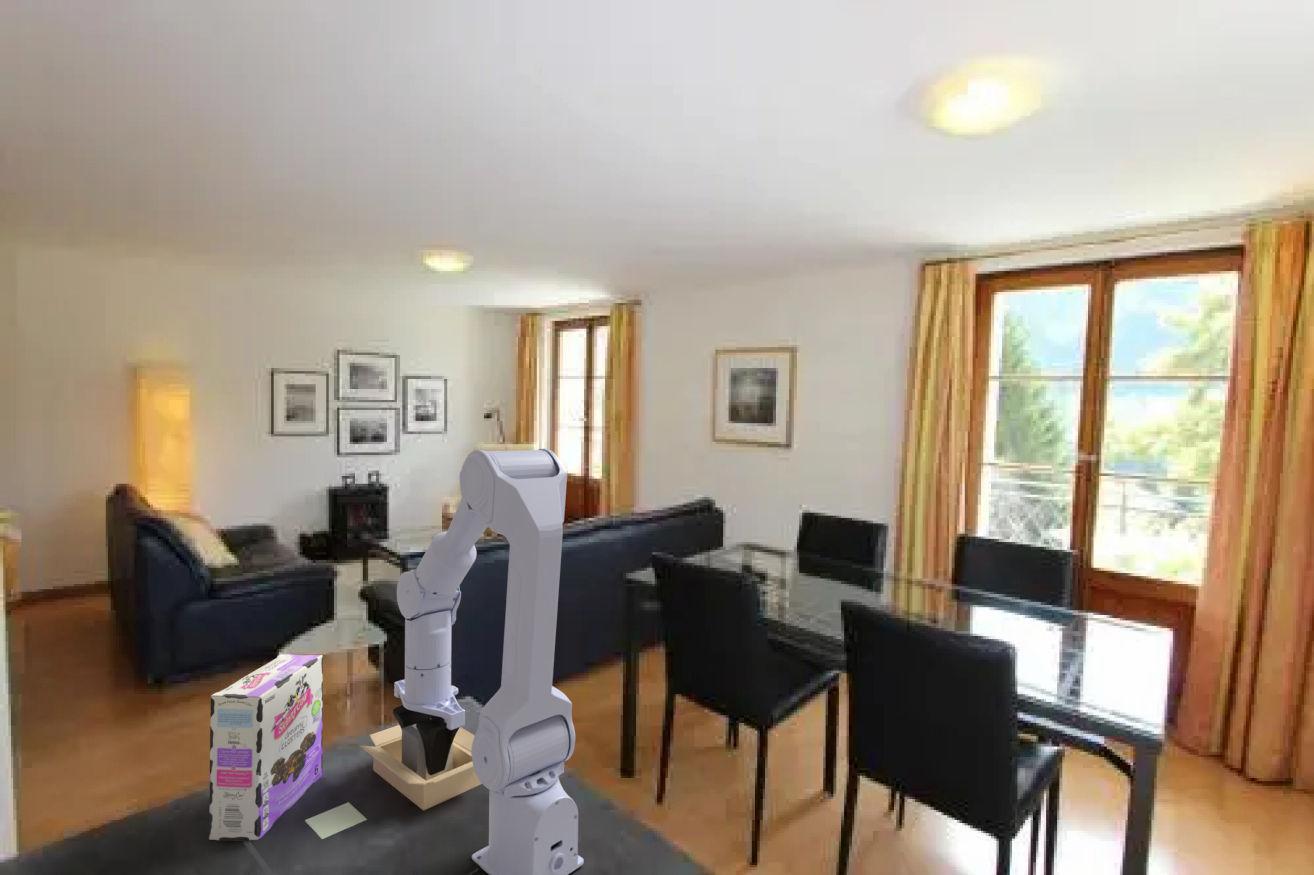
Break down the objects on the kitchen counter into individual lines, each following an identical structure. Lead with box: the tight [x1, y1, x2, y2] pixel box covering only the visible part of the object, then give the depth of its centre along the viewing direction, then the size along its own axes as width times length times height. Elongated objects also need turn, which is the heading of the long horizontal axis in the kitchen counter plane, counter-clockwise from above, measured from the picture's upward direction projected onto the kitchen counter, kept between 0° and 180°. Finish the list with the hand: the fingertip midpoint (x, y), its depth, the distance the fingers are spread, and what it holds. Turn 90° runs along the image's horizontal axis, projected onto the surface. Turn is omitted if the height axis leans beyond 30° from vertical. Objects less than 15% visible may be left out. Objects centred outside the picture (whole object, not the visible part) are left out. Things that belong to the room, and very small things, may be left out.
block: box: [402, 724, 453, 781], centre depth 86 cm, size 5×4×7 cm
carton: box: [359, 724, 483, 811], centre depth 86 cm, size 12×17×4 cm
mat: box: [304, 802, 368, 840], centre depth 77 cm, size 5×5×1 cm
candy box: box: [208, 653, 324, 843], centre depth 80 cm, size 14×6×16 cm, turn 179°
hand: (427, 765), depth 86 cm, fingers closed on block, 4 cm apart
